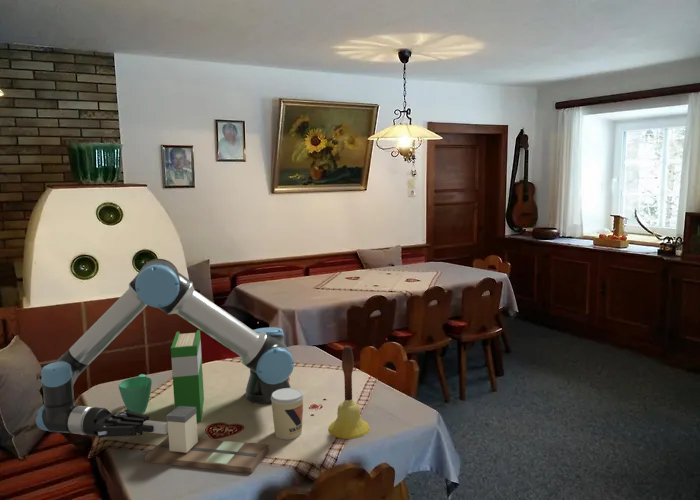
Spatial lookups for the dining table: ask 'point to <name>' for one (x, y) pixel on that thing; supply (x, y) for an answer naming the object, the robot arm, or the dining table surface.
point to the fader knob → (182, 428)
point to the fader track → (212, 455)
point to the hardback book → (188, 371)
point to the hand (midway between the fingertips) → (166, 428)
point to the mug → (136, 393)
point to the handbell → (348, 406)
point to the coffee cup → (287, 412)
